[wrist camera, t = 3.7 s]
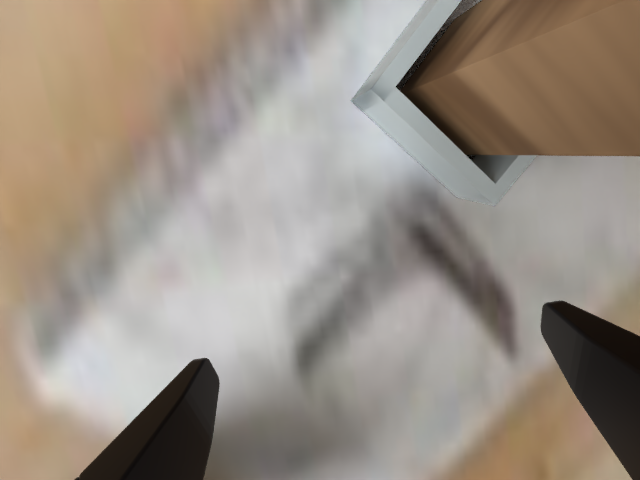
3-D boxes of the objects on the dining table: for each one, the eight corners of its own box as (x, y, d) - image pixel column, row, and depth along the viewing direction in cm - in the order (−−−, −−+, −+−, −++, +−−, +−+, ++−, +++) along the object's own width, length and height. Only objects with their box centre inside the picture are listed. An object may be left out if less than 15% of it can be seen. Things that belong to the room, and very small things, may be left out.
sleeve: (457, 197, 21) (495, 206, 17) (350, 100, 18) (371, 88, 15) (642, -31, 19) (723, -70, 16) (553, -169, 17) (626, -248, 13)
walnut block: (456, 154, 20) (774, 156, 8) (395, 96, 19) (663, -18, 6) (513, 84, 20) (948, -35, 7) (455, 19, 18) (871, -269, 6)
